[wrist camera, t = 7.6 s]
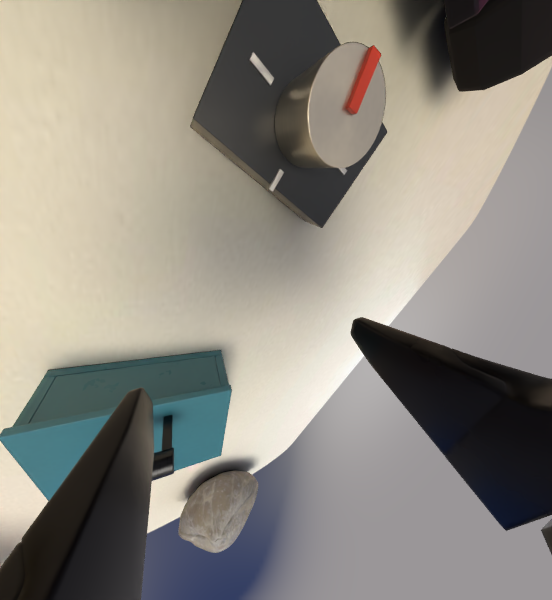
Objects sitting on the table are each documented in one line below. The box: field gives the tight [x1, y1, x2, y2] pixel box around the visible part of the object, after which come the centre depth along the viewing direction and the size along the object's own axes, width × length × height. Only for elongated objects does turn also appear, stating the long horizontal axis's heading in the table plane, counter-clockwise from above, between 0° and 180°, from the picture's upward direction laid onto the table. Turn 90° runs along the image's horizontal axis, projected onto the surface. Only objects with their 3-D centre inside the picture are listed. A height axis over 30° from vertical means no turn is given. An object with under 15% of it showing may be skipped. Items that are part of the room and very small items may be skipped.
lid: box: [0, 385, 232, 501], centre depth 17 cm, size 12×15×5 cm
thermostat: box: [191, 0, 387, 228], centre depth 14 cm, size 11×9×3 cm
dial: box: [275, 42, 386, 168], centre depth 11 cm, size 4×4×4 cm
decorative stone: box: [179, 471, 258, 553], centre depth 37 cm, size 15×10×15 cm
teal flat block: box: [13, 350, 229, 427], centre depth 21 cm, size 12×15×5 cm
